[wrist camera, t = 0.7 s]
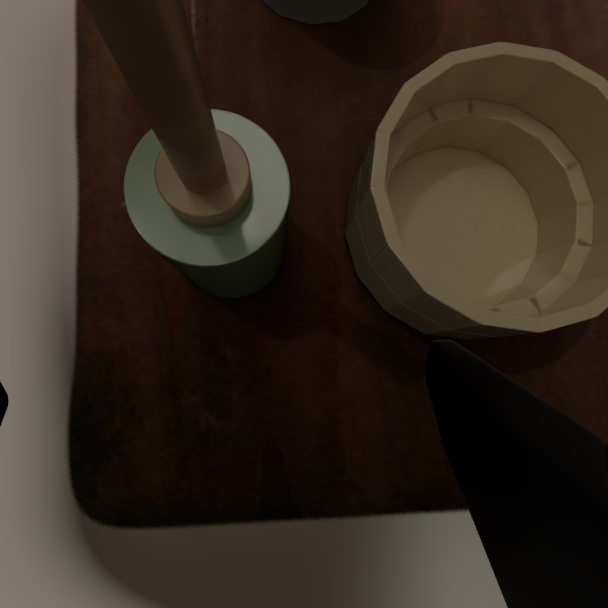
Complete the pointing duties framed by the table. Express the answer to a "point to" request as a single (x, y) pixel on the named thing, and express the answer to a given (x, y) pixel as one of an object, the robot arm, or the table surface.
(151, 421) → the table surface
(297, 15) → the cup
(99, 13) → the stirring stick
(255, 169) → the green cylinder pedestal
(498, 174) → the mixing bowl
